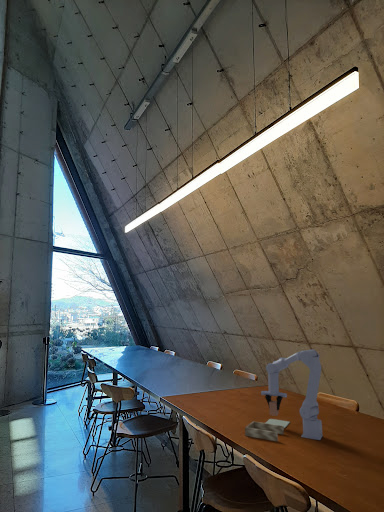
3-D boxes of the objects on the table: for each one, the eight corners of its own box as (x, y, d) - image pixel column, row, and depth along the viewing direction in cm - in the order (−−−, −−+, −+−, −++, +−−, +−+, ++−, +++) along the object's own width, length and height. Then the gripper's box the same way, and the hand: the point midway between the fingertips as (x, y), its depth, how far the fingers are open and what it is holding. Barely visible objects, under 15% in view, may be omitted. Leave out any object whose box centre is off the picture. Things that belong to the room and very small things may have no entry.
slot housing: (283, 434, 190) (283, 426, 190) (277, 441, 179) (277, 432, 179) (253, 428, 198) (252, 421, 198) (245, 435, 187) (245, 427, 187)
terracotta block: (278, 413, 204) (277, 401, 205) (276, 416, 201) (276, 403, 202) (271, 412, 206) (271, 400, 207) (269, 415, 203) (269, 402, 204)
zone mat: (289, 422, 209) (289, 421, 209) (284, 428, 199) (284, 427, 199) (269, 419, 215) (269, 418, 215) (263, 424, 205) (263, 424, 205)
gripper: (287, 384, 207) (288, 409, 205) (263, 382, 214) (264, 406, 211) (284, 386, 201) (285, 412, 199) (259, 384, 207) (260, 408, 205)
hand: (274, 409), depth 205 cm, fingers closed on terracotta block, 4 cm apart
